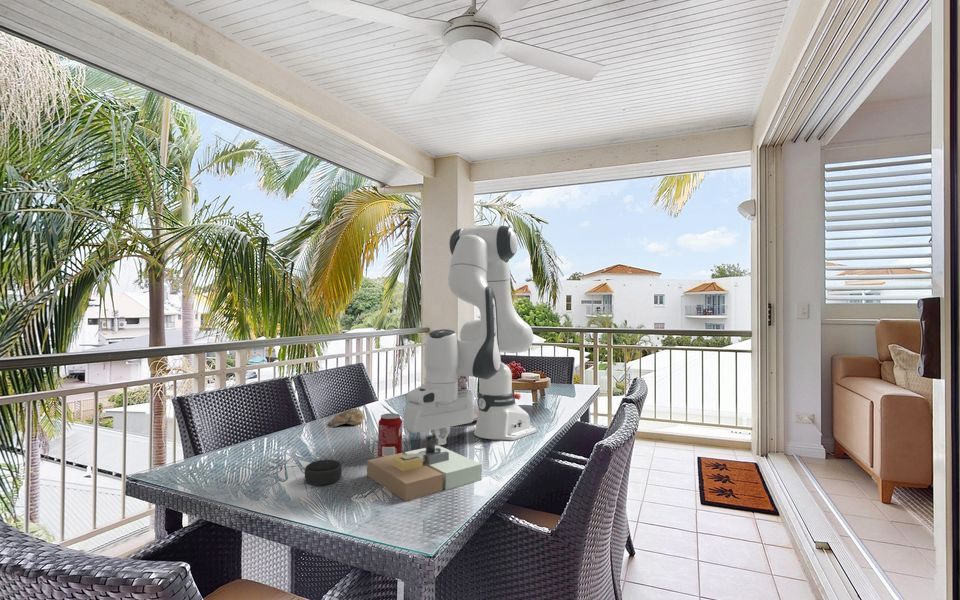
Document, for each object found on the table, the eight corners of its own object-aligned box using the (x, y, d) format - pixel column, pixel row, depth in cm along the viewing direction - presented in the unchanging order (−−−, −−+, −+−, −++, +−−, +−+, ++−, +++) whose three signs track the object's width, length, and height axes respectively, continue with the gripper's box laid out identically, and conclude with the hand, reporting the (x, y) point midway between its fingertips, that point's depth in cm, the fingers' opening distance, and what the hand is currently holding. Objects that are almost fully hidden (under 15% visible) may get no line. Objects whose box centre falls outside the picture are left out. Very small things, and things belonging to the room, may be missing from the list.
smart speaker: (348, 476, 126) (348, 460, 126) (329, 489, 118) (329, 472, 118) (317, 472, 128) (318, 457, 128) (297, 485, 120) (297, 468, 120)
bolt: (434, 456, 129) (434, 434, 129) (439, 459, 127) (439, 436, 127) (400, 464, 122) (401, 440, 122) (405, 467, 120) (405, 442, 120)
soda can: (396, 461, 137) (397, 419, 137) (374, 459, 139) (374, 417, 139) (405, 454, 144) (405, 413, 144) (383, 452, 145) (384, 412, 145)
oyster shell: (329, 422, 181) (329, 408, 181) (364, 420, 185) (364, 406, 185) (328, 428, 172) (328, 414, 172) (365, 426, 176) (365, 412, 175)
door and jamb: (437, 459, 140) (438, 438, 140) (481, 479, 124) (481, 456, 124) (366, 475, 126) (367, 452, 126) (405, 501, 111) (406, 474, 111)
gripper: (465, 386, 137) (464, 435, 137) (401, 394, 124) (400, 448, 124) (479, 389, 132) (478, 440, 132) (414, 398, 119) (413, 454, 119)
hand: (440, 444), depth 128 cm, fingers closed
